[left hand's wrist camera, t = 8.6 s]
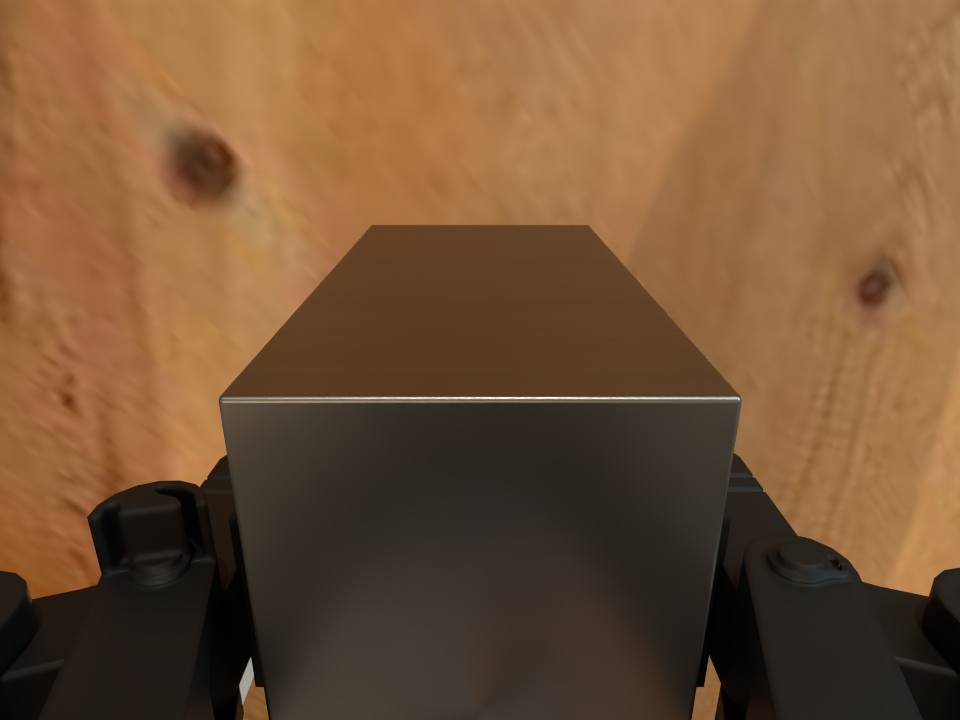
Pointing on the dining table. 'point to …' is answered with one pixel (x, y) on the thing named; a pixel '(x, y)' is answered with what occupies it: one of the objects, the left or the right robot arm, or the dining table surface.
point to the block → (480, 485)
